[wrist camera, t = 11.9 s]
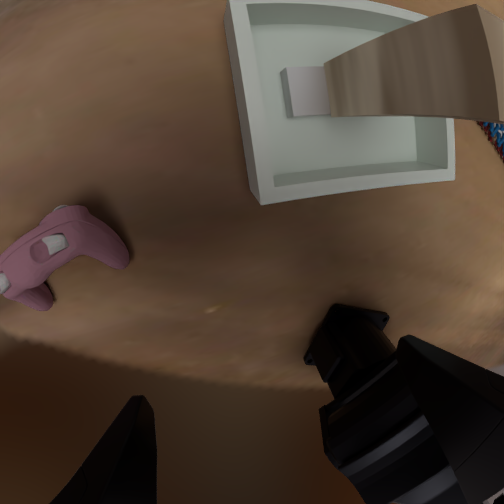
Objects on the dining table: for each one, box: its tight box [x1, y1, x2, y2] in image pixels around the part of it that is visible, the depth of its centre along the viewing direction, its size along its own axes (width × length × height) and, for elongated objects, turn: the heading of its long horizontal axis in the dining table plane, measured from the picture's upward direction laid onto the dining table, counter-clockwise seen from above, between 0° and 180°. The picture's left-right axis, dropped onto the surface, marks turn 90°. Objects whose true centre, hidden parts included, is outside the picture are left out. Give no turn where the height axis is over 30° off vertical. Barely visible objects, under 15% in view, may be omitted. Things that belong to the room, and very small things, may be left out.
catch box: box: [224, 0, 455, 205], centre depth 14 cm, size 14×12×4 cm
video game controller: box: [0, 205, 129, 311], centre depth 15 cm, size 10×5×7 cm, turn 113°
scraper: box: [280, 4, 504, 124], centre depth 10 cm, size 8×3×13 cm, turn 98°
